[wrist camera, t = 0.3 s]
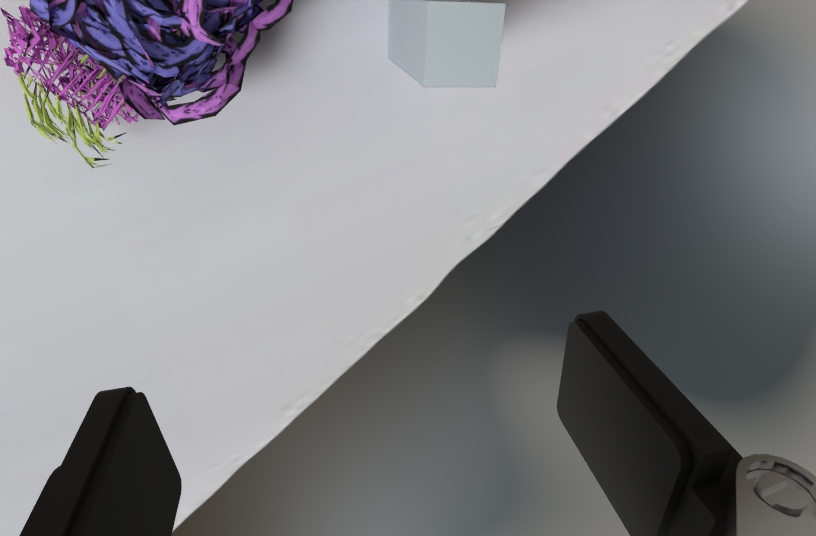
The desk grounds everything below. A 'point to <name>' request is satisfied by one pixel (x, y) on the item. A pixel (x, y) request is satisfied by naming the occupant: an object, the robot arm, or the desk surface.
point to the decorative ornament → (137, 57)
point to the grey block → (447, 41)
